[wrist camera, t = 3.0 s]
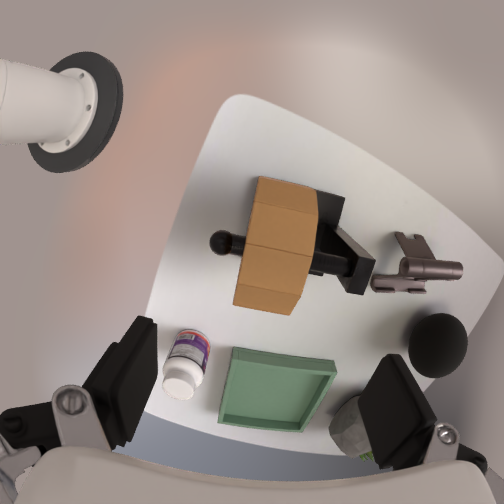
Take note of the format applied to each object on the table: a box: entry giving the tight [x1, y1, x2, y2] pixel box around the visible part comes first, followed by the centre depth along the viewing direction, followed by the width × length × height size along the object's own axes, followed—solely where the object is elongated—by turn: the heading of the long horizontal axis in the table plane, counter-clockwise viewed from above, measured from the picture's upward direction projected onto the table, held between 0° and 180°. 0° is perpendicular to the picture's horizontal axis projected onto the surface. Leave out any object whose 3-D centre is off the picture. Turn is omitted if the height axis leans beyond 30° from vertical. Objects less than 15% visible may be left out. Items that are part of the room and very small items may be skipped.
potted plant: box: [329, 396, 373, 461], centre depth 37 cm, size 12×13×15 cm
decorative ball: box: [408, 313, 468, 378], centre depth 32 cm, size 10×10×10 cm
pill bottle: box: [162, 330, 210, 400], centre depth 34 cm, size 5×5×10 cm
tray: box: [217, 347, 337, 432], centre depth 40 cm, size 16×17×3 cm
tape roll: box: [233, 176, 318, 315], centre depth 23 cm, size 4×11×11 cm, turn 168°
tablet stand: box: [371, 232, 463, 294], centre depth 29 cm, size 9×8×8 cm
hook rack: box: [210, 189, 376, 295], centre depth 26 cm, size 13×10×12 cm
